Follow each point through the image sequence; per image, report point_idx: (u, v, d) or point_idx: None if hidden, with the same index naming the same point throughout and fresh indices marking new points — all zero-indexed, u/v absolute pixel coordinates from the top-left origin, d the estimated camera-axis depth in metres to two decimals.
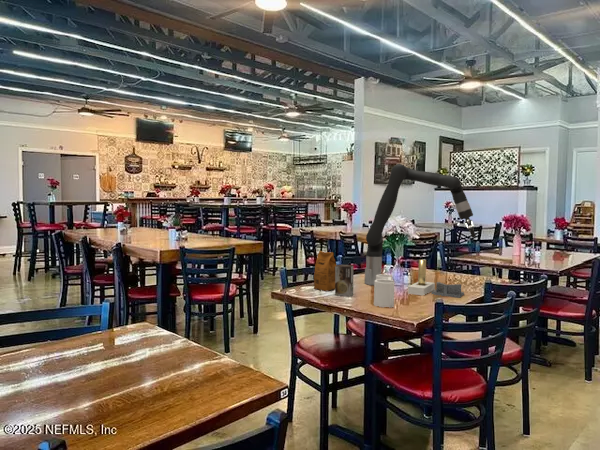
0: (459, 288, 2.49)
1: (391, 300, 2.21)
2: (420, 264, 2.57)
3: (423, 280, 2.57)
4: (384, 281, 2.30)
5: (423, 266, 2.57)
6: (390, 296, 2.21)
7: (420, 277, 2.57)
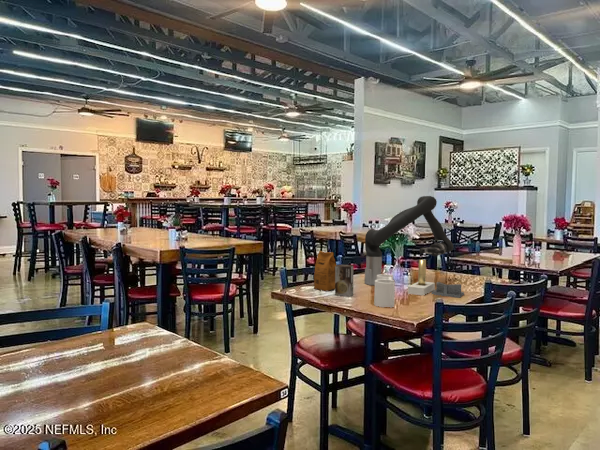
0: (459, 288, 2.49)
1: (391, 300, 2.21)
2: (420, 264, 2.57)
3: (423, 280, 2.57)
4: (384, 281, 2.29)
5: (423, 266, 2.57)
6: (391, 296, 2.21)
7: (420, 277, 2.57)
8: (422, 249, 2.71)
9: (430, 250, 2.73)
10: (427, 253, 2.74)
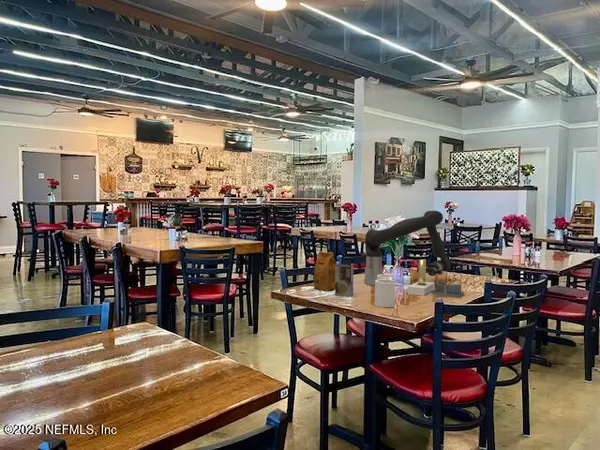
0: (459, 288, 2.49)
1: (392, 300, 2.21)
2: (420, 264, 2.57)
3: (423, 280, 2.57)
4: (385, 281, 2.29)
5: (423, 266, 2.57)
6: (391, 296, 2.21)
7: (420, 277, 2.57)
8: None
9: (427, 270, 2.70)
10: None
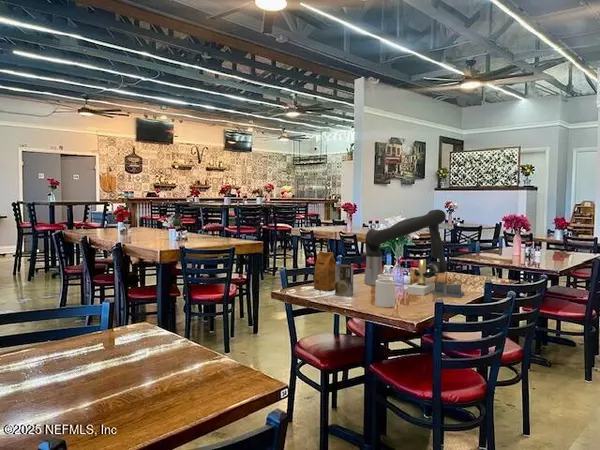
0: (459, 288, 2.49)
1: (392, 300, 2.21)
2: (420, 264, 2.57)
3: (423, 280, 2.57)
4: (385, 281, 2.29)
5: (423, 266, 2.57)
6: (391, 296, 2.21)
7: (420, 277, 2.57)
8: (417, 272, 2.59)
9: None
10: None
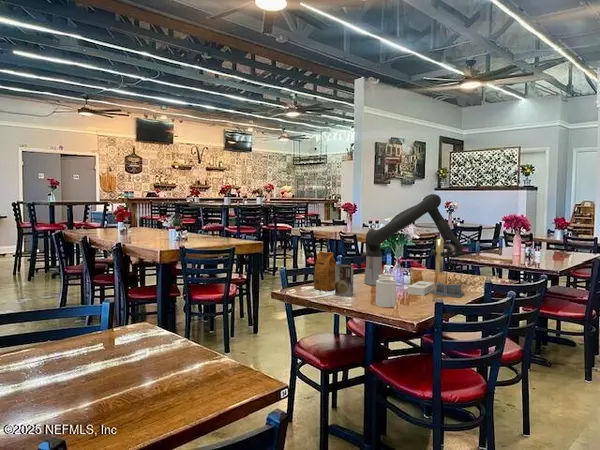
0: (459, 288, 2.49)
1: (393, 300, 2.21)
2: (437, 243, 2.53)
3: (441, 260, 2.54)
4: (386, 281, 2.29)
5: (441, 245, 2.53)
6: (392, 296, 2.21)
7: (438, 257, 2.54)
8: (434, 251, 2.55)
9: (442, 252, 2.59)
10: None
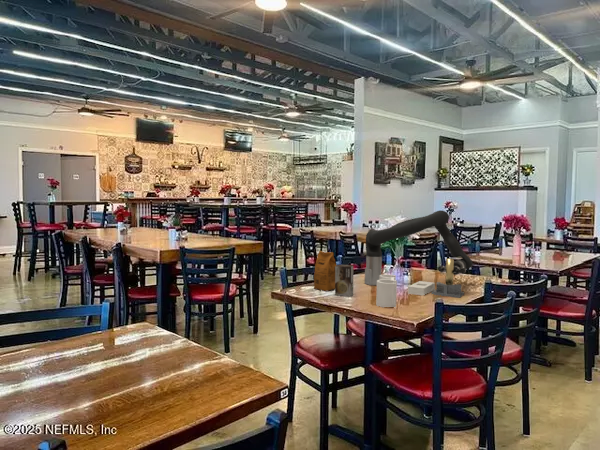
0: (459, 288, 2.49)
1: (393, 300, 2.20)
2: (448, 263, 2.52)
3: (451, 279, 2.52)
4: (387, 281, 2.29)
5: (451, 265, 2.51)
6: (392, 296, 2.20)
7: (448, 276, 2.52)
8: (442, 268, 2.55)
9: None
10: None
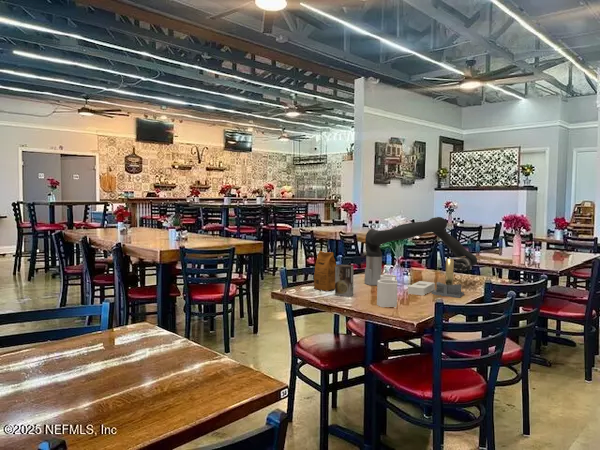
0: (459, 288, 2.49)
1: (394, 300, 2.20)
2: (448, 263, 2.52)
3: (451, 279, 2.52)
4: (387, 281, 2.29)
5: (451, 265, 2.51)
6: (393, 296, 2.20)
7: (448, 276, 2.52)
8: None
9: (456, 266, 2.68)
10: None
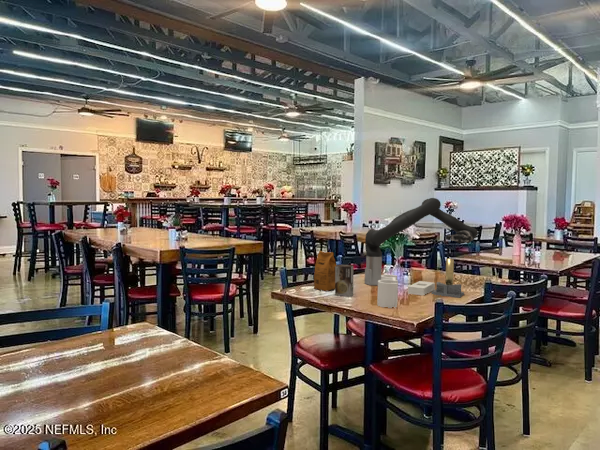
0: (459, 288, 2.49)
1: (394, 300, 2.20)
2: (448, 263, 2.52)
3: (451, 279, 2.52)
4: (388, 281, 2.29)
5: (451, 265, 2.51)
6: (393, 296, 2.20)
7: (448, 276, 2.52)
8: (449, 236, 2.65)
9: (457, 237, 2.67)
10: (453, 240, 2.68)
